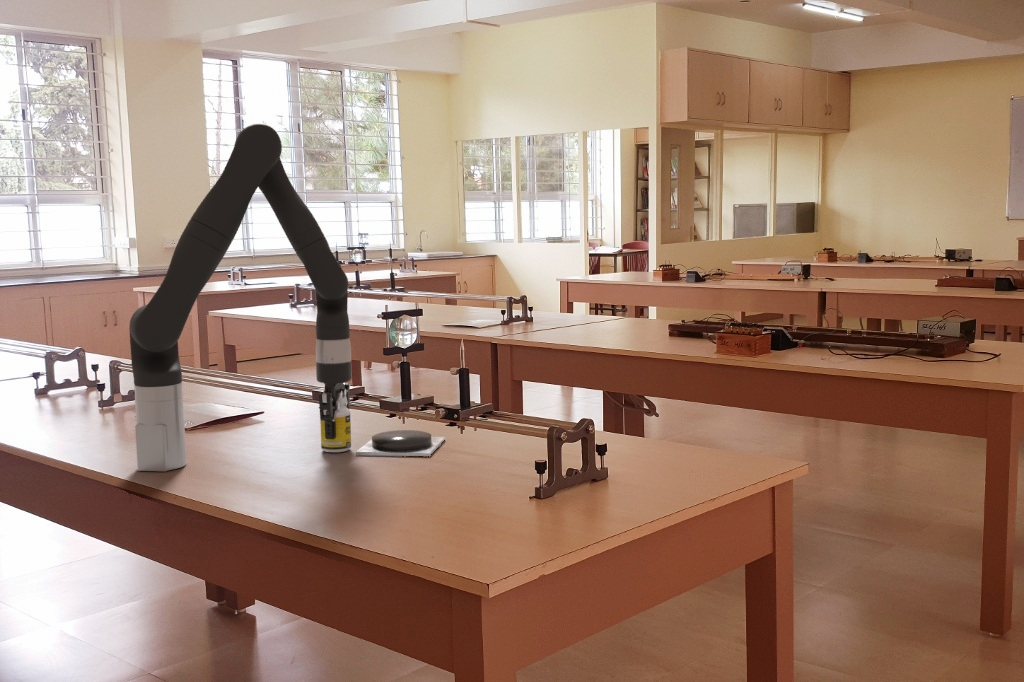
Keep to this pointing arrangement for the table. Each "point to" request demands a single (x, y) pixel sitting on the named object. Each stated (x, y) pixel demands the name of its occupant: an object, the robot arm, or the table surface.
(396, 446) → the stand
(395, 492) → the table surface
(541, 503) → the table surface
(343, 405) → the pill bottle
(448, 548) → the table surface
